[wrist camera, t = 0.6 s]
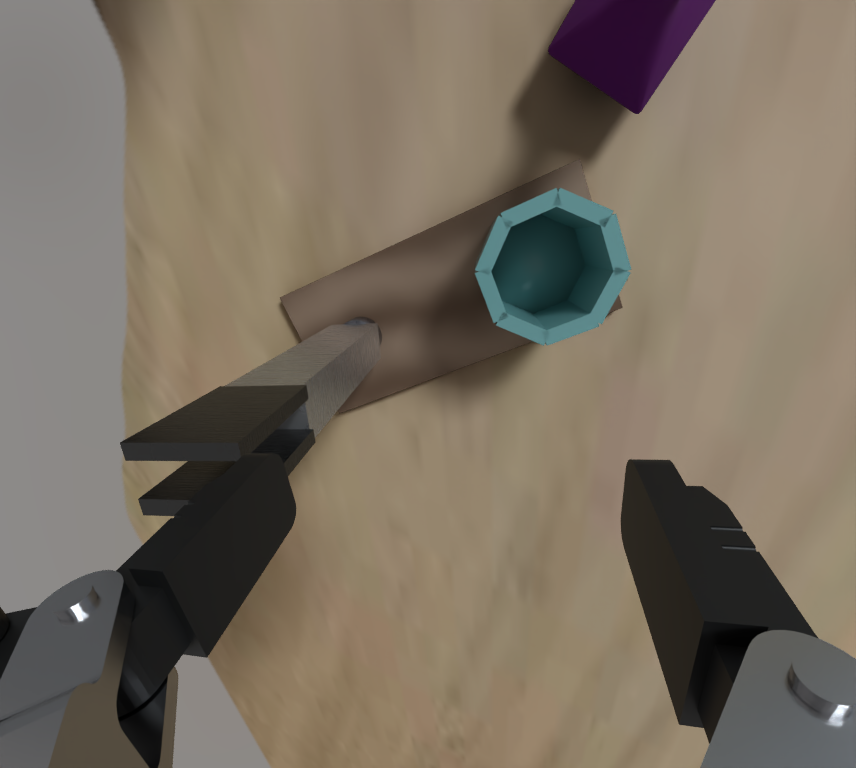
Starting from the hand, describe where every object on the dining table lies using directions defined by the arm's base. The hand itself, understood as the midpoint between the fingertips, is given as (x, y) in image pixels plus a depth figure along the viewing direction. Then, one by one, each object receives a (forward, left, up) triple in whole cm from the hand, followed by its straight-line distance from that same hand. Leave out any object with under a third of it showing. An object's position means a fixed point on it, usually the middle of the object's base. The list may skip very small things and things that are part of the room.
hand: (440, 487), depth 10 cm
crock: (-1, +6, -27) cm, 28 cm away
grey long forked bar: (-1, -10, -27) cm, 29 cm away
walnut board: (-1, -2, -28) cm, 29 cm away
